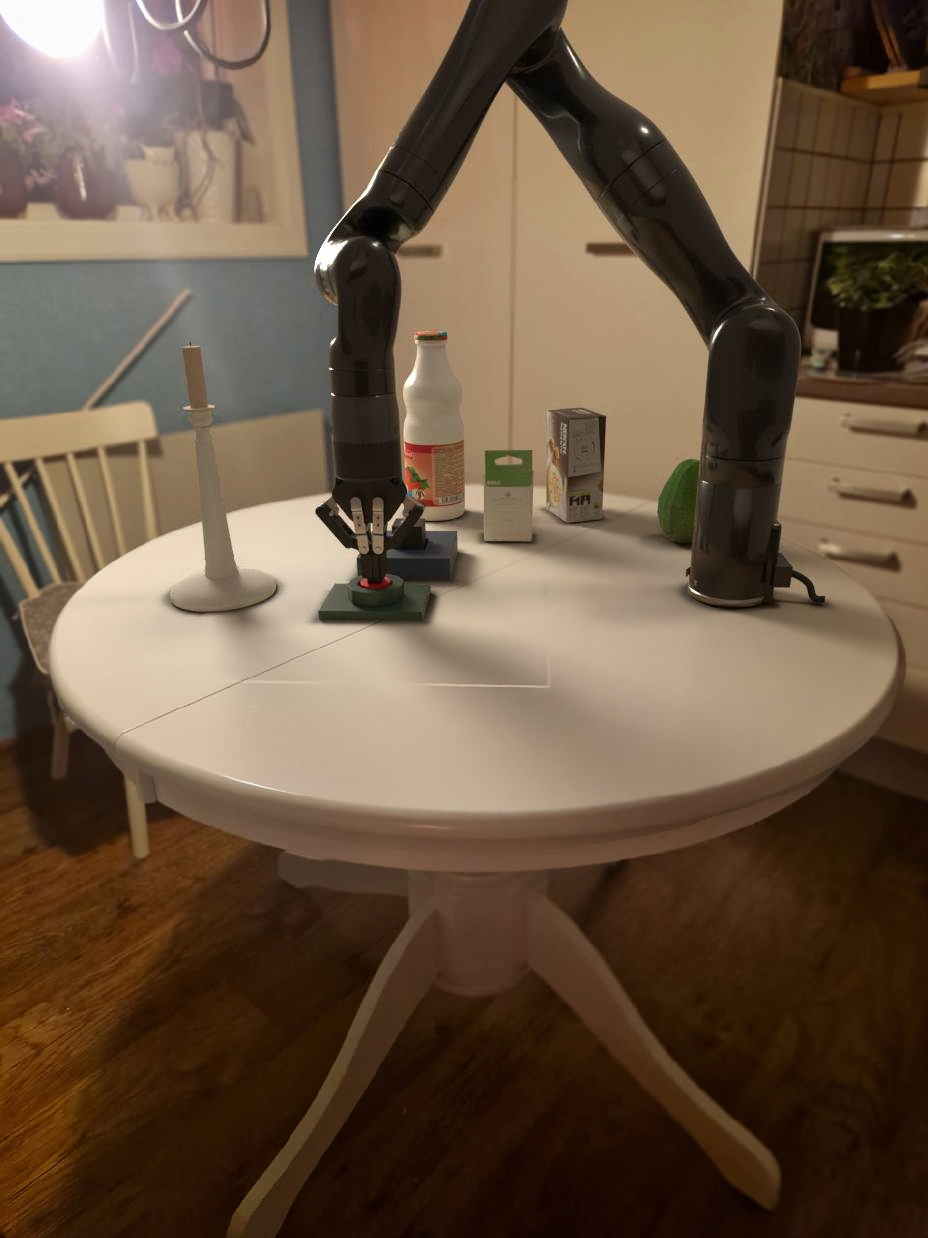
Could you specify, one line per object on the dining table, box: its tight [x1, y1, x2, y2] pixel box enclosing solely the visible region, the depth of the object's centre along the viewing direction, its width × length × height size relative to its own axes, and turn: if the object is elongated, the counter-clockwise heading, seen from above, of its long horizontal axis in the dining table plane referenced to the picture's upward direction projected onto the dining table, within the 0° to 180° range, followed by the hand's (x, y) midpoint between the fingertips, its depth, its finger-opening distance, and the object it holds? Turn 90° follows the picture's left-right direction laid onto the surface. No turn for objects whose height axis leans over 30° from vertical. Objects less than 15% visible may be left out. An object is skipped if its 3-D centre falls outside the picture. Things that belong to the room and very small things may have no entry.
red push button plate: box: [317, 574, 432, 622], centre depth 102 cm, size 12×9×3 cm
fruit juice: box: [402, 330, 466, 522], centre depth 134 cm, size 9×9×28 cm
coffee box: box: [545, 407, 607, 524], centre depth 135 cm, size 9×6×16 cm
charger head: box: [391, 517, 427, 550], centre depth 115 cm, size 4×4×6 cm
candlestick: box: [169, 341, 277, 613], centre depth 102 cm, size 13×13×30 cm
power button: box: [360, 577, 391, 589], centre depth 102 cm, size 4×4×2 cm
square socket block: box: [356, 530, 459, 581], centre depth 116 cm, size 12×12×3 cm
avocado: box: [656, 458, 700, 545], centre depth 122 cm, size 8×8×12 cm
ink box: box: [483, 449, 534, 542], centre depth 124 cm, size 7×4×13 cm, turn 84°
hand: (374, 581), depth 102 cm, fingers closed
